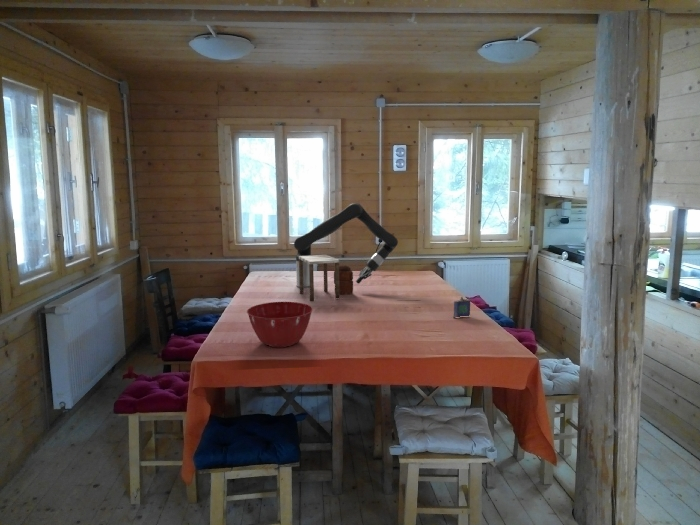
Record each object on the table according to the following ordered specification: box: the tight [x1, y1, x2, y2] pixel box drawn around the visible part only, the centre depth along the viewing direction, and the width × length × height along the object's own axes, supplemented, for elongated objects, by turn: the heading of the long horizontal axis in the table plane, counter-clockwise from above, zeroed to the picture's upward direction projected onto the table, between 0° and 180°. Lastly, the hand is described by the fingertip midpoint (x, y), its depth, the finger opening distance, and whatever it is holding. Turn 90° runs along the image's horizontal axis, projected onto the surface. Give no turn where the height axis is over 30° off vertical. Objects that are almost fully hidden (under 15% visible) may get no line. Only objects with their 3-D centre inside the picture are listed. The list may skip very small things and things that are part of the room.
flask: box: [453, 296, 471, 318], centre depth 282 cm, size 9×3×11 cm, turn 109°
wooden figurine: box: [333, 264, 354, 295], centre depth 340 cm, size 12×6×18 cm, turn 93°
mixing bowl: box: [246, 301, 313, 348], centre depth 241 cm, size 28×28×15 cm
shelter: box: [299, 254, 340, 302], centre depth 334 cm, size 24×18×24 cm
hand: (357, 282), depth 344 cm, fingers closed
